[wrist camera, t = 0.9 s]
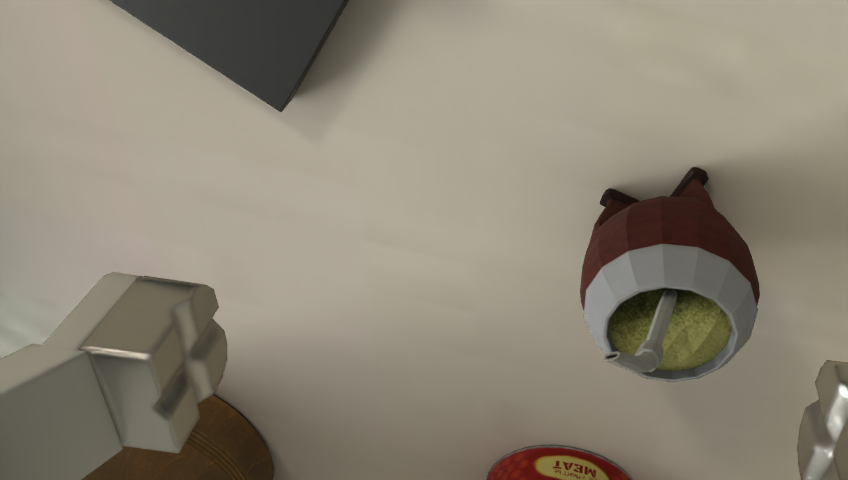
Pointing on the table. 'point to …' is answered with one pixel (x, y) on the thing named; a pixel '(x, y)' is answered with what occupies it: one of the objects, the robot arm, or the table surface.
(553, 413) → the table surface
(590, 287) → the mate gourd
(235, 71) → the scale
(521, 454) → the canned food
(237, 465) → the wooden container
